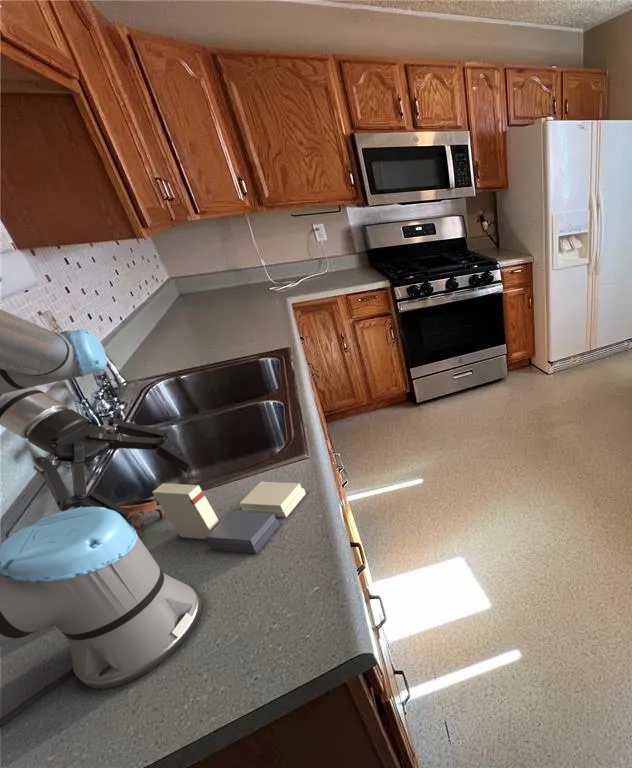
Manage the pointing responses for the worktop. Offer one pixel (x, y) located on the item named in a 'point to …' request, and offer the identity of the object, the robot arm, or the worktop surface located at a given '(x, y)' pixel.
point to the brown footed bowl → (139, 507)
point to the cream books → (273, 498)
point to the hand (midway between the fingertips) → (160, 490)
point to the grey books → (242, 532)
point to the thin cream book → (187, 509)
